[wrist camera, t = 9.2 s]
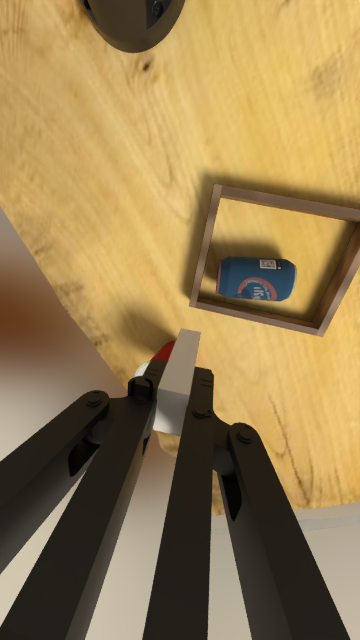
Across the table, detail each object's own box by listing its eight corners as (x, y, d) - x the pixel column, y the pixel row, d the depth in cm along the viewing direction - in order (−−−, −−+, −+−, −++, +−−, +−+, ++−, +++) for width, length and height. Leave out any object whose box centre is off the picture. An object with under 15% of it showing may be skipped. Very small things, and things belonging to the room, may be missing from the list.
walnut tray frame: (215, 188, 35) (214, 183, 32) (370, 216, 33) (386, 214, 30) (191, 300, 44) (188, 306, 40) (314, 328, 41) (322, 337, 38)
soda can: (285, 310, 37) (214, 304, 38) (280, 281, 41) (217, 277, 42) (301, 281, 31) (217, 276, 33) (294, 250, 35) (220, 247, 36)
